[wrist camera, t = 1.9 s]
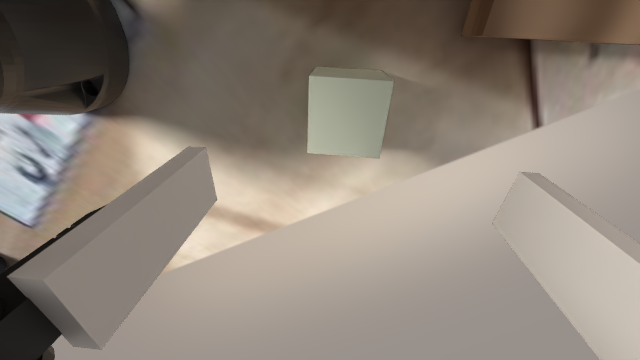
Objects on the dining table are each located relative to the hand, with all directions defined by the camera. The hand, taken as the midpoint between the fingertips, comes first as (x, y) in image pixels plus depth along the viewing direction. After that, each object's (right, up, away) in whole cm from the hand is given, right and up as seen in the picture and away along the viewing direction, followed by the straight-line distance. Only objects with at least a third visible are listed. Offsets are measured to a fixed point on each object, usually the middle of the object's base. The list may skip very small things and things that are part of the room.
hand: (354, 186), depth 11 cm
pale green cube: (+1, +8, +13) cm, 15 cm away
